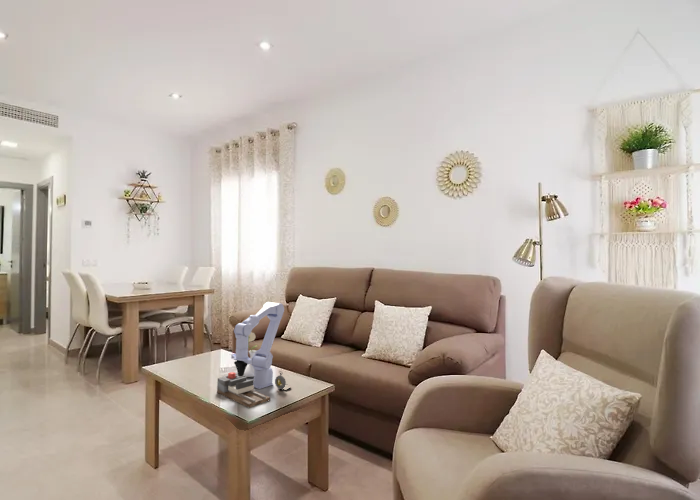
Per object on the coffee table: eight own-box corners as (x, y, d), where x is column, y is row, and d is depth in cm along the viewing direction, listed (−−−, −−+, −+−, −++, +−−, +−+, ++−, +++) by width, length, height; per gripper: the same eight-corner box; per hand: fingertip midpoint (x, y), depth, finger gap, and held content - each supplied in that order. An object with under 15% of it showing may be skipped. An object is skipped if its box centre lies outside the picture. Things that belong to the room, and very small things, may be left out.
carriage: (244, 385, 189) (244, 376, 189) (253, 389, 184) (254, 380, 184) (228, 389, 182) (228, 380, 182) (237, 394, 177) (238, 384, 177)
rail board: (237, 386, 195) (238, 372, 195) (270, 400, 178) (270, 385, 179) (217, 392, 186) (217, 378, 186) (248, 407, 169) (249, 392, 169)
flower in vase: (264, 373, 218) (266, 330, 218) (258, 379, 206) (260, 334, 207) (243, 371, 219) (245, 328, 219) (235, 377, 208) (237, 332, 208)
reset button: (232, 379, 191) (232, 371, 191) (236, 381, 189) (237, 373, 189) (226, 381, 188) (226, 373, 188) (230, 383, 186) (230, 375, 186)
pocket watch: (291, 386, 198) (292, 367, 198) (289, 392, 190) (290, 372, 190) (276, 386, 198) (277, 367, 198) (273, 391, 189) (274, 372, 189)
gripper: (226, 346, 185) (225, 374, 185) (243, 352, 176) (242, 381, 176) (238, 344, 191) (237, 371, 191) (256, 349, 182) (255, 377, 182)
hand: (240, 375), depth 184 cm, fingers closed
